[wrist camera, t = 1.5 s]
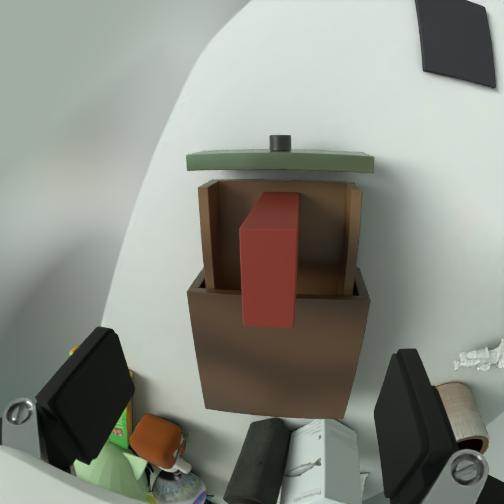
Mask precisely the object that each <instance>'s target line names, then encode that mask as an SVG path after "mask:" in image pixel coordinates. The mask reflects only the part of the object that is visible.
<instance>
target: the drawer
mask: <svg viewBox="0 0 504 504" xmlns="http://www.w3.org/2000/svg"><path fill="white" fill-rule="evenodd" d="M186 161H187V171H195V170H233V169H283V170H320V171H342V172H360V173H374V157H373V156H371V155H368V154H365V153H363V152H347V151H328V150H297V149H291V136H290V135H270V149H243V150H212V151H201V152H197V153H192V154H188V155H186ZM263 192H299V193H300V232H299V262H298V278H297V292H296V294H317V295H347V296H352V294H353V287H354V279H355V270H356V262H357V252H358V242H359V232H360V220H361V206H362V190H361V189H360V188H359V187H358V186H357V185H356V184H355V183H354V182H340V181H317V180H278V179H220V180H211V181H209V182H207V183H205V184H203V185H202V186H200V187H198V198H199V213H200V226H201V239H202V252H203V263H204V274H205V285H206V289H221V290H236V291H242V289H241V264H240V238H239V228H240V227H241V225H242V224H243V222H244V221H245V219H246V218H247V216H248V215H249V213H250V212H251V210H252V208H253V207H254V205H255V204H256V202H257V201H258V199H259V198H260V196H261V195H262V193H263Z"/></svg>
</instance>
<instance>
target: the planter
mask: <svg viewBox="0 0 504 504" xmlns="http://www.w3.org/2000/svg"><path fill="white" fill-rule="evenodd" d="M436 388H437V389H438V391H439V394H440V396H441V399H442V402H443V404H444V407H445V410H446V412H447V415H448V418H449V421H450V423H451V426H452V429H453V432H454V435H455V438H456V441H457V444H458V447H459V450H463V449H471V450H475V451H477V452H479V453H481V454H482V455H483V454H484V453H485V452H486V450H487V448H488V447H489V444H490V438H489V436H488V433H487V430H486V428H485V425H484V423H483V420H482V417H481V415H480V412H479V410H478V407H477V405H476V402H475V400H474V397H473V395H472V393H471V391H470V390H469V388H468V387H467V386H465V385H463V384H460V383H448V384H443V385H440V386H437V387H436Z"/></svg>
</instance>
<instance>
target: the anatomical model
mask: <svg viewBox="0 0 504 504" xmlns="http://www.w3.org/2000/svg"><path fill="white" fill-rule="evenodd" d="M152 494H153V497H154V500H155V501H156V503H157V504H204V502H205V499H206V496H207V490H206V487H205V485H204V483H203V482H202V481H201V479H200V478H198V477H197V476H196V475H195V474H193V473H191V472H189V473H187V474H185V473H183V472H182V471H181V472H180V474H178V475H175V474H173V473H172V472H167V471H164V470H162V471H161V472H160V473H159V474H158V476H157V477H156V480H155V482H154V484H153V487H152Z"/></svg>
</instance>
